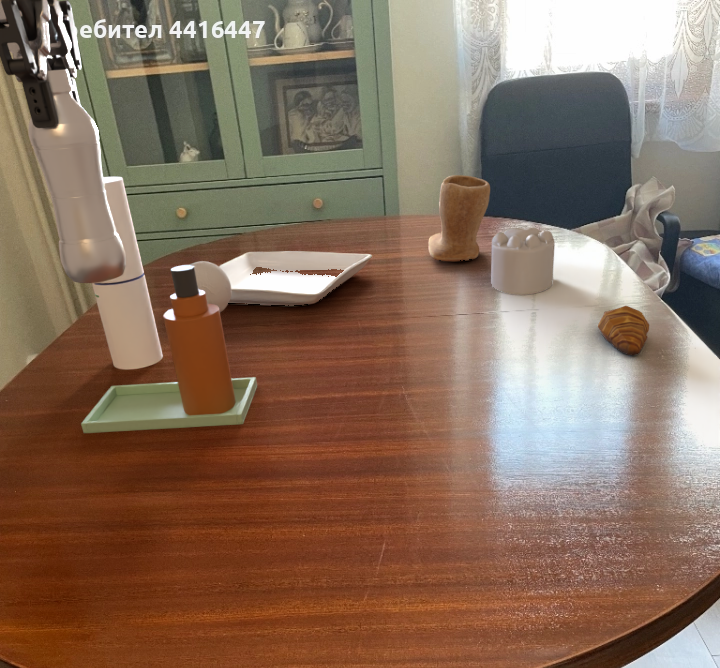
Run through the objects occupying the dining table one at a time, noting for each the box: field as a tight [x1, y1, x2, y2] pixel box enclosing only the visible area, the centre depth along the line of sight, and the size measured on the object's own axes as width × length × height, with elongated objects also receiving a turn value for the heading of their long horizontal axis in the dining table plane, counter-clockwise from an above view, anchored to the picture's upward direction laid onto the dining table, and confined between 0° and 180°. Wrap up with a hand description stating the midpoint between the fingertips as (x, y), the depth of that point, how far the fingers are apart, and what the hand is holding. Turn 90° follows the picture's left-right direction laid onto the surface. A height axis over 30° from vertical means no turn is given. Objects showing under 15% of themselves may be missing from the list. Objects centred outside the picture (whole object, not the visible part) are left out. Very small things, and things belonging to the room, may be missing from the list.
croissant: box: [597, 305, 650, 356], centre depth 98 cm, size 14×7×5 cm, turn 174°
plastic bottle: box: [28, 69, 126, 284], centre depth 74 cm, size 6×7×20 cm
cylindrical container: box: [91, 176, 164, 370], centre depth 100 cm, size 7×7×25 cm
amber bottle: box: [162, 264, 236, 415], centre depth 86 cm, size 6×6×17 cm
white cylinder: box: [189, 260, 231, 313], centre depth 98 cm, size 7×7×15 cm
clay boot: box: [427, 174, 491, 262], centre depth 142 cm, size 15×12×15 cm
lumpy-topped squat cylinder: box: [490, 227, 556, 296], centre depth 124 cm, size 10×13×9 cm
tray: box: [80, 376, 258, 434], centre depth 90 cm, size 19×11×2 cm, turn 88°
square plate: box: [218, 250, 373, 307], centre depth 134 cm, size 27×27×4 cm
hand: (59, 123), depth 71 cm, fingers closed on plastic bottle, 5 cm apart
